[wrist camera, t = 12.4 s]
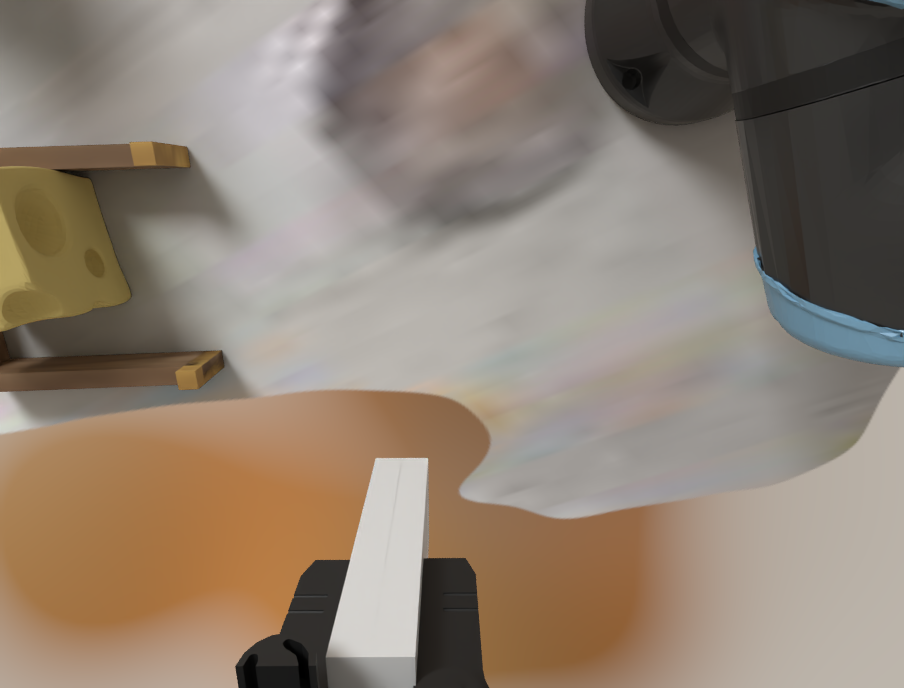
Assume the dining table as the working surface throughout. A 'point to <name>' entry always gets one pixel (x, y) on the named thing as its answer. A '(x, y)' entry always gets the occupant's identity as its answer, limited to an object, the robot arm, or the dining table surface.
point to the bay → (104, 369)
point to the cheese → (53, 248)
